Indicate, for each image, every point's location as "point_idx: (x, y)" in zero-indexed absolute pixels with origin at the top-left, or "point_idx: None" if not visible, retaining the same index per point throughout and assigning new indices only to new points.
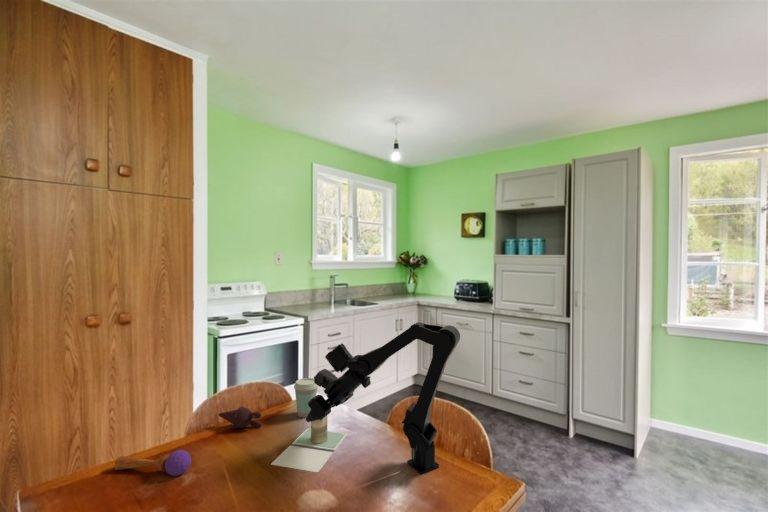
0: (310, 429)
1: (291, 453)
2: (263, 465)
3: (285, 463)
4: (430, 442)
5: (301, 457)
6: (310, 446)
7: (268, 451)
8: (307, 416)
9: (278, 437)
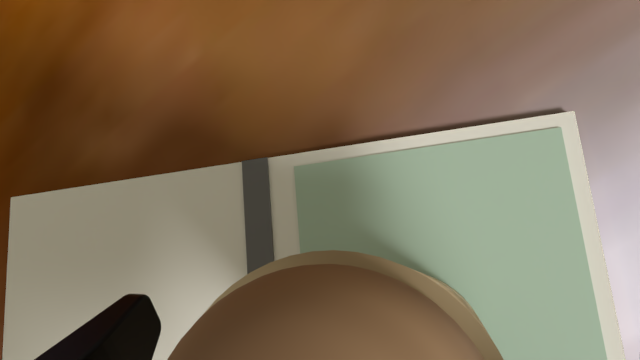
0: (561, 155)
1: (147, 246)
2: (15, 156)
3: (36, 283)
4: None
5: None
6: None
7: (151, 70)
8: (61, 344)
9: None
